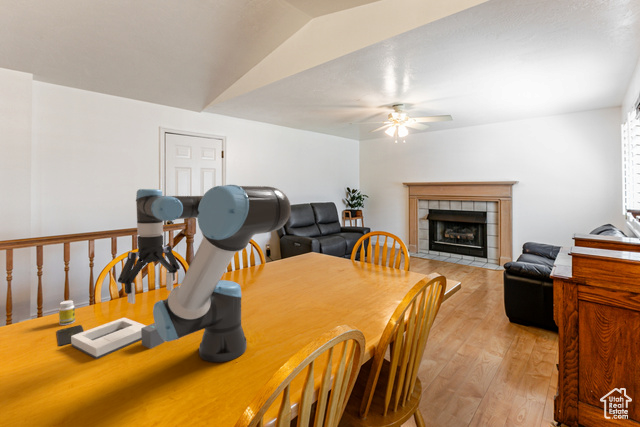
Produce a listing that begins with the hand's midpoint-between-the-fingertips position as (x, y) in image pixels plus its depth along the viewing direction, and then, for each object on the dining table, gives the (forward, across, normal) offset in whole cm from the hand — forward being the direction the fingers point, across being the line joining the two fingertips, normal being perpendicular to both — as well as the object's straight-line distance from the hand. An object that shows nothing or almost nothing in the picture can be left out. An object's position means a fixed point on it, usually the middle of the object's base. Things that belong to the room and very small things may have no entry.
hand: (151, 296), depth 101 cm
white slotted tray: (+17, +6, -14) cm, 23 cm away
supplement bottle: (+17, +7, -44) cm, 48 cm away
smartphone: (+18, +11, -31) cm, 37 cm away
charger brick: (+17, 0, 0) cm, 17 cm away
